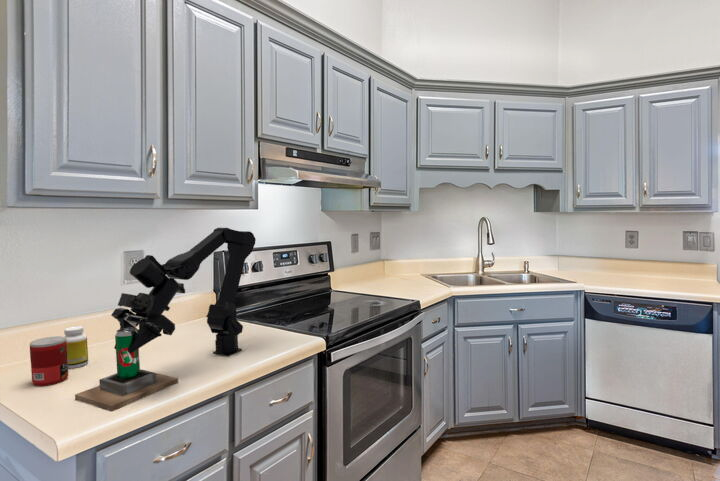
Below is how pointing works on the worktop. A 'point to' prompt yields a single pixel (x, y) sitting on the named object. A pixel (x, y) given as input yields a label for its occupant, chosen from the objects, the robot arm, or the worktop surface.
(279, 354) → the worktop surface
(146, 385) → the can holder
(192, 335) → the worktop surface
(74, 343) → the pill bottle
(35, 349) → the canned food
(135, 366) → the soda can
